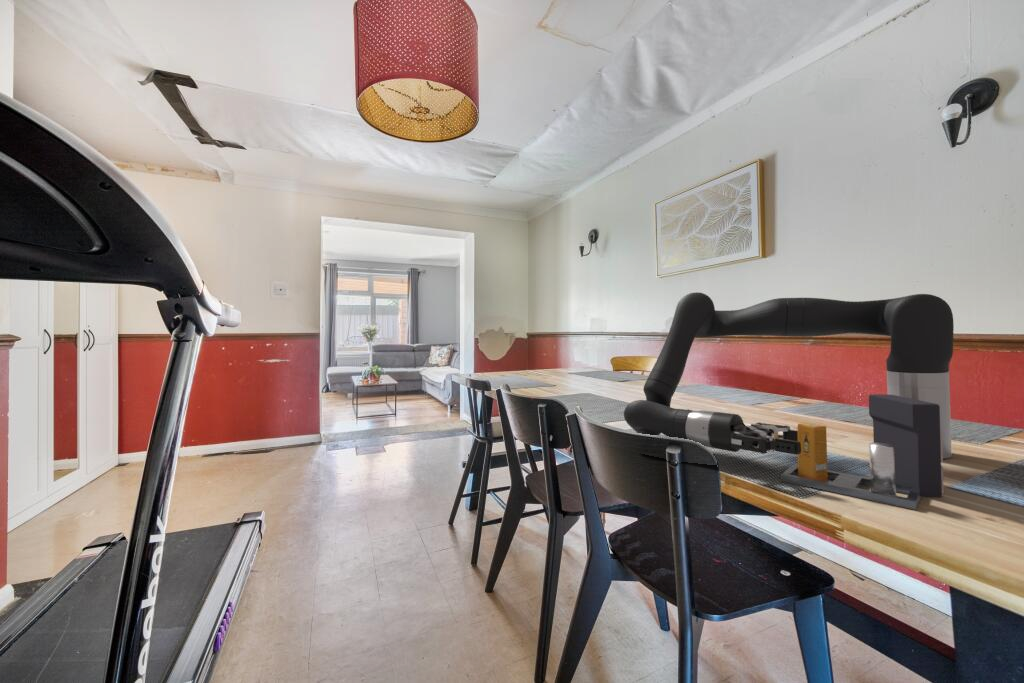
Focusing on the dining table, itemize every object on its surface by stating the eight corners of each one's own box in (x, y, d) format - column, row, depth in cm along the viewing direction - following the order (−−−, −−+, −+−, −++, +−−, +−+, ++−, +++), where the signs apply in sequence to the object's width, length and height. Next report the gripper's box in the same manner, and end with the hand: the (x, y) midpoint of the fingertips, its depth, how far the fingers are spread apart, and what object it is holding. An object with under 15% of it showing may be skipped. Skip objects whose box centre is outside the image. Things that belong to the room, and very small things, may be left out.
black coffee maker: (948, 500, 62) (946, 404, 62) (915, 499, 63) (913, 404, 63) (897, 476, 73) (895, 394, 73) (870, 475, 74) (868, 394, 74)
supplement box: (830, 482, 70) (828, 425, 70) (814, 485, 69) (812, 427, 69) (811, 476, 73) (810, 421, 73) (796, 478, 72) (794, 423, 72)
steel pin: (872, 489, 66) (871, 441, 66) (897, 494, 64) (896, 444, 64) (869, 494, 64) (867, 445, 64) (894, 500, 62) (893, 448, 62)
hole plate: (794, 470, 76) (794, 464, 76) (921, 494, 63) (921, 487, 63) (781, 481, 71) (780, 474, 71) (915, 509, 58) (915, 501, 58)
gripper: (697, 417, 79) (794, 429, 67) (727, 407, 88) (818, 416, 76) (699, 454, 79) (796, 474, 67) (728, 441, 88) (819, 455, 76)
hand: (807, 443), depth 71 cm, fingers open, 8 cm apart
